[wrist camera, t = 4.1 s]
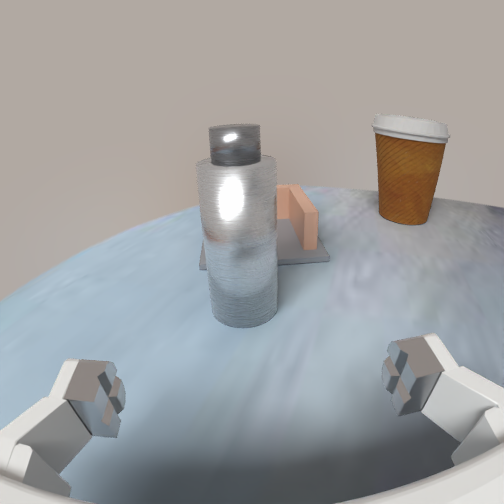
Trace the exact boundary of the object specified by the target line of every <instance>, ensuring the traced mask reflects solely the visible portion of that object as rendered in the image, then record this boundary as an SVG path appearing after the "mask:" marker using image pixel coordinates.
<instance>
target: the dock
mask: <svg viewBox="0 0 504 504" xmlns="http://www.w3.org/2000/svg"><path fill="white" fill-rule="evenodd" d="M317 234H318V211H317V209H316V208H315V207H314V205H313V204H312V202H311V201H310V200H309V198H308V197H307V196H306V194H305V193H304V192H303V190H302V189H301V187H300V186H299V185H298V184H293V185H277V265H284V264H298V263H312V262H326V261H329V257H330V256H329V254H328V253H327V251H326V249H325V247H324V246H323V244H322V242H321V240H320V239H319V237H318V235H317ZM199 267H200V270H207V266H206V257H205V249H204V240H203V244H202V250H201V256H200V263H199Z"/></svg>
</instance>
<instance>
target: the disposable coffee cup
mask: <svg viewBox="0 0 504 504" xmlns="http://www.w3.org/2000/svg"><path fill="white" fill-rule="evenodd" d="M372 127H373V128H374V132H375V136H376V150H377V163H378V164H377V166H378V187H379V213H380V215H381V216H383V217H384V218H386V219H388V220H391V221H393V222H397V223H401V224H407V225H418V224H423V223H425V222H426V221H427V218H428V215H429V211H430V207H431V204H432V200H433V196H434V192H435V188H436V185H437V181H438V176H439V172H440V168H441V164H442V159H443V154H444V149H445V145H446V143H447V142H448V138H450V135H448V129H447V124H445V123H441V122H437V121H432V120H426V119H420V118H414V117H407V116H398V115H389V114H376V116H375V120H374V124H372Z"/></svg>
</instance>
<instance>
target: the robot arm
mask: <svg viewBox="0 0 504 504" xmlns="http://www.w3.org/2000/svg"><path fill="white" fill-rule="evenodd" d="M387 352H388V354H389V357H388V358H387V359H386V360H385V361H384V363H383V366H382V380H383V384H384V386H385V388H386V390H387V391H389V392H390V393H392V394H393V395H392V398H391V402H392V404H393V407H394V409H395V411H396V413H397V416H403V415H407V414H411V413H415V412H419V411H422V413H423V414H424V415H426V416H427V417H428V418H429V419H431V420H432V421H433V422H434V423H436V424H437V425H438V426H440V427H441V428H442V429H443V430H445V431H446V432H447V433H448V434H450V435H451V436H452V437H453V438H455V439H456V440H457V441H459V442H460V443H461V444H460V445H459V446H458V447H457V449H456V450H455V451H454V452H453V454H452V456H451V458H452V461H453V463H454V465H455V466H454V467H452V468H449V469H447V470H445V471H442V472H440V473H437V474H435V475H432V476H429V477H427V478H424V479H421V480H418V481H416V482H413V483H410V484H407V485H404V486H401V487H397V488H394V489H391V490H387V491H384V492H380V493H377V494H373V495H369V496H366V497H362V498H357V499H353V500H349V501H344V502H339V503H334V504H504V388H503V387H501V386H499V385H497V384H495V383H493V382H492V381H490V380H488V379H486V378H484V377H482V376H480V375H478V374H477V373H475V372H473V371H471V370H469V369H467V368H465V367H464V366H461V367H459V366H458V365H457V363H456V362H455V360H454V359H453V357H452V356H451V354H450V353H449V351H448V350H447V349H446V347H445V346H444V344H443V343H442V341H441V340H440V339H439V337H438V336H437V335H436V334H435V333H430V334H426V335H421V336H416V337H411V338H406V339H401V340H396V341H392V342H391V343H390V344H389V346H388V350H387ZM116 372H117V369H116V367H115V365H114V363H113V362H110V361H96V360H83V359H82V360H80V359H69V358H68V359H67V360H66V361H65V362H64V364H63V366H62V368H61V370H60V372H59V374H58V376H57V379H56V381H55V383H54V385H53V388H52V390H51V392H50V394H49V397H43V398H42V399H41V400H40V401H38V402H37V403H36V404H34V405H33V406H32V407H30V408H29V409H28V410H27V411H25V412H24V413H23V414H21V415H20V416H19V417H17V418H16V419H15V420H13V421H12V422H11V423H10V424H8V425H7V426H6V427H4V428H3V429H2V430H1V431H0V504H96V503H92V502H87V501H83V500H78V499H74V498H70V497H69V496H70V491H71V486H70V485H69V483H68V482H67V481H65V480H64V479H63V478H62V477H61V476H60V475H59V474H60V473H61V472H62V471H63V469H64V468H65V467H66V466H67V465H68V464H69V463H70V462H71V461H72V459H73V458H74V457H75V456H76V455H77V454H78V453H79V452H80V451H81V449H82V448H83V447H84V446H85V445H86V444H87V443H88V442H89V441H90V439H91V438H92V436H100V437H110V438H117V436H118V431H119V427H120V423H121V420H120V418H119V416H118V414H119V413H120V412H121V411H122V410H123V409H124V405H125V388H124V385H123V382H122V380H121V379H119V378H118V377H117V376H115V375H116Z"/></svg>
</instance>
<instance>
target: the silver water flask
mask: <svg viewBox="0 0 504 504" xmlns="http://www.w3.org/2000/svg"><path fill="white" fill-rule="evenodd" d="M209 140H210V154H211V158H208V159H204V160H202V161H199V162H198V163H197V164H196V170H197V182H198V192H199V202H200V212H201V222H202V231H203V240H204V249H205V257H206V266H207V274H208V282H209V290H210V298H211V305H212V312H213V315H214V317H215V318H216V319H217V320H218V321H219V322H221V323H223V324H225V325H227V326H231V327H236V328H250V327H255V326H259V325H261V324H264V323H266V322H267V321H269V320H270V319H271V318H273V316H274V315H275V314H276V311H277V177H276V176H277V173H276V159H275V158H273V157H271V156H266V155H261V147H260V125H257V124H231V125H221V126H214V127H210V128H209Z"/></svg>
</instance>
